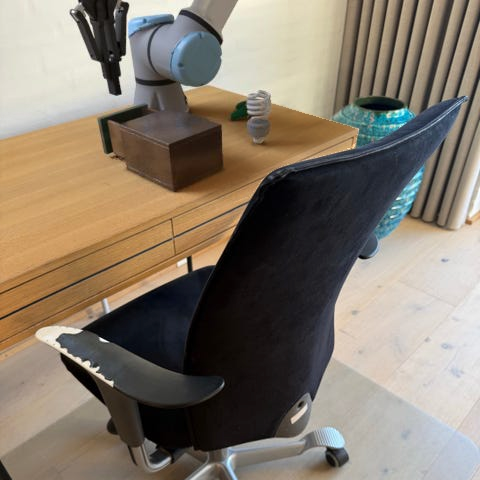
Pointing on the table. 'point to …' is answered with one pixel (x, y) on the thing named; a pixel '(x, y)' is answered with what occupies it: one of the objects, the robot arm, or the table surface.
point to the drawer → (112, 130)
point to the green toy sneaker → (240, 111)
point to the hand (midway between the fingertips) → (115, 93)
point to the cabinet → (172, 147)
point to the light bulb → (258, 124)
